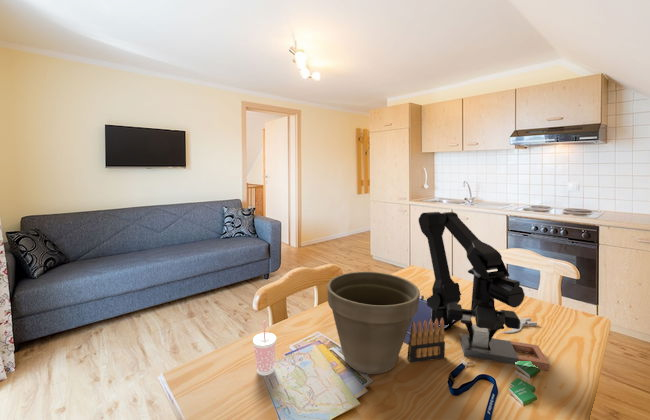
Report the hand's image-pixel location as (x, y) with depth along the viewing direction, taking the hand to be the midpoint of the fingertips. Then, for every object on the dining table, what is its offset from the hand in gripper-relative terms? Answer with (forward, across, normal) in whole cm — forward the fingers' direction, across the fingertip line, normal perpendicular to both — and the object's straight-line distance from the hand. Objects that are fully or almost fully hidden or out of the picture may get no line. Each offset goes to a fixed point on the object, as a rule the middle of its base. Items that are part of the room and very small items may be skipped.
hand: (479, 342), depth 92 cm
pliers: (+3, +14, +20) cm, 25 cm away
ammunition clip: (+3, -15, -9) cm, 18 cm away
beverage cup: (+3, -56, -27) cm, 63 cm away
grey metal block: (+2, 0, 0) cm, 2 cm away
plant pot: (+3, -30, -14) cm, 33 cm away
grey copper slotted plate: (+2, +6, 0) cm, 6 cm away
